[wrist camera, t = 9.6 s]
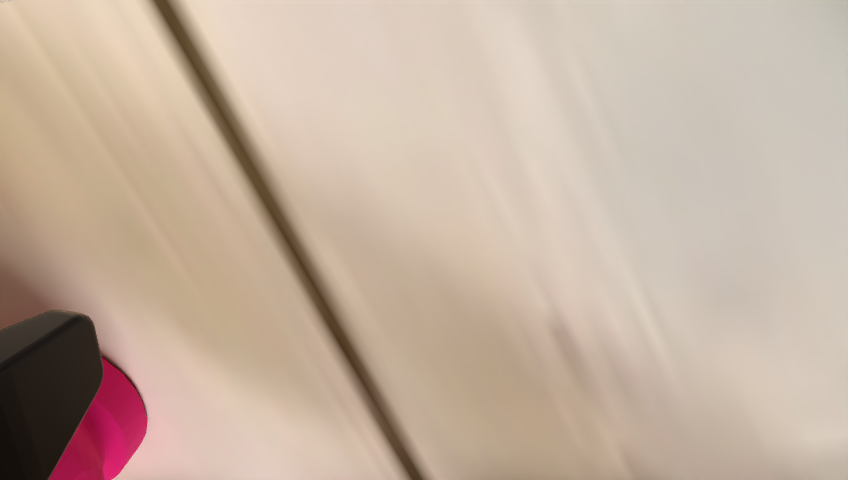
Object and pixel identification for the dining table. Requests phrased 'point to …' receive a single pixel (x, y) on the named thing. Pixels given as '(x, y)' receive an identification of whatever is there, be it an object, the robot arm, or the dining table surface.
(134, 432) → the pepper mill
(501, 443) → the dining table surface
